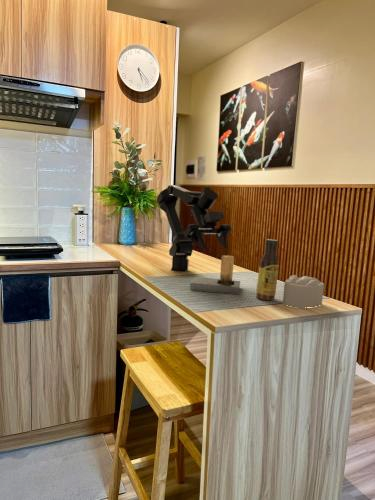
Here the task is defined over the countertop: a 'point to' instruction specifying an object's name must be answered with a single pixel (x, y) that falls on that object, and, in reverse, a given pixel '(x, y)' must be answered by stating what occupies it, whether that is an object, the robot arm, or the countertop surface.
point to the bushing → (226, 269)
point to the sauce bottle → (268, 272)
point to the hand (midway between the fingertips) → (215, 249)
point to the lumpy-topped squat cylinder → (303, 292)
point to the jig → (214, 285)
